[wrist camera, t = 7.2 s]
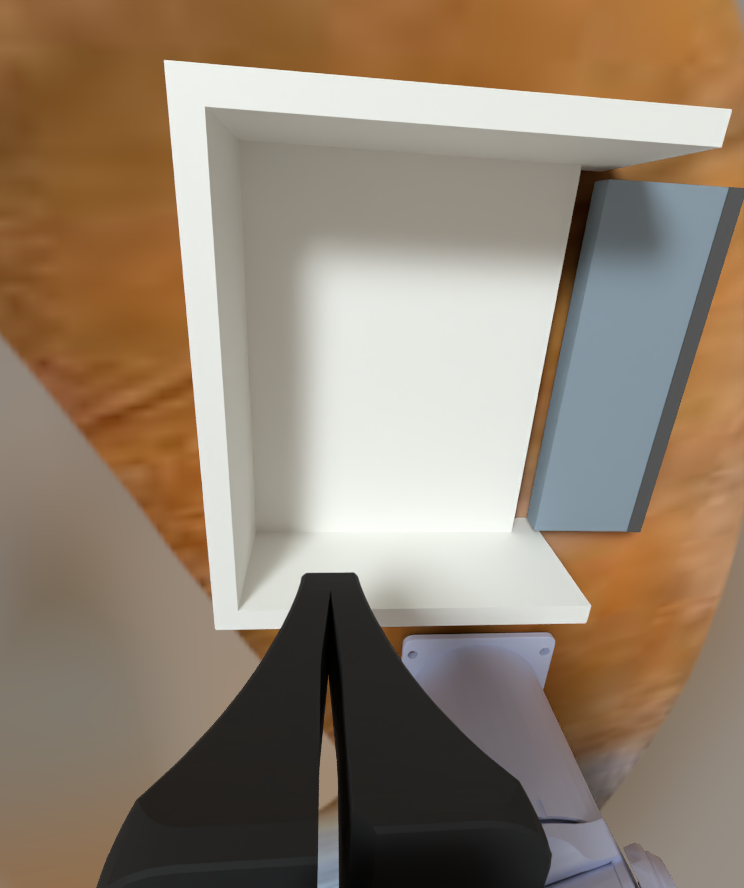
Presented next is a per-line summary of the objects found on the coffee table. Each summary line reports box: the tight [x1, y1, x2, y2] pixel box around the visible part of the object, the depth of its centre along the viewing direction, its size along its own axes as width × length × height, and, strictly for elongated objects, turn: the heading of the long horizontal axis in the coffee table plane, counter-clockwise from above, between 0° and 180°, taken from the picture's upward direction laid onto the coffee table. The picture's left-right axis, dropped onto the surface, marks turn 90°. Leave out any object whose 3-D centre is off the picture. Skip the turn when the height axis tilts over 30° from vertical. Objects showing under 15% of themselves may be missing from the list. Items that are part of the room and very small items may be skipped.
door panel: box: [527, 179, 744, 532], centre depth 20 cm, size 14×1×5 cm
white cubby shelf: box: [164, 60, 732, 630], centre depth 17 cm, size 16×13×6 cm
